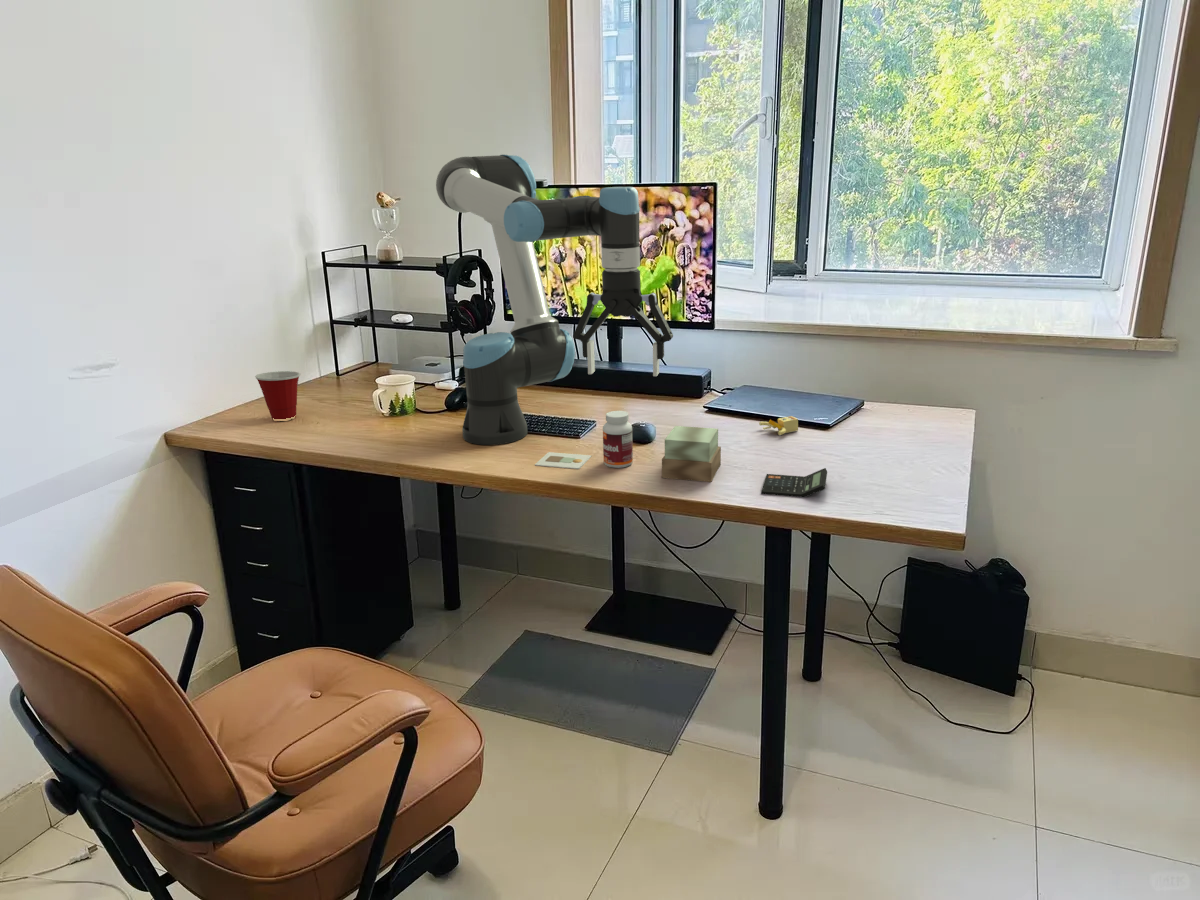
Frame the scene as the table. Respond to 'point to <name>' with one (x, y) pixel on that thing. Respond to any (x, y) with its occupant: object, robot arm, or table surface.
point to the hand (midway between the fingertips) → (623, 373)
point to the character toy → (783, 424)
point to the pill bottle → (617, 440)
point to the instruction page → (563, 460)
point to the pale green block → (691, 454)
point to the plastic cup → (280, 392)
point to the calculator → (794, 484)
